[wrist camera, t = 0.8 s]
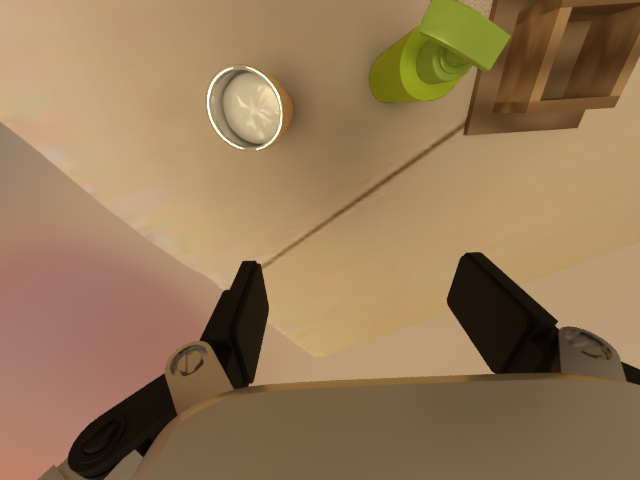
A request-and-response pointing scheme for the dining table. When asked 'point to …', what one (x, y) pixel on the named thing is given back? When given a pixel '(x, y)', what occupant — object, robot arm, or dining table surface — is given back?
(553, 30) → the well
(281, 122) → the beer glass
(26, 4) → the dining table surface
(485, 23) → the soap dispenser
